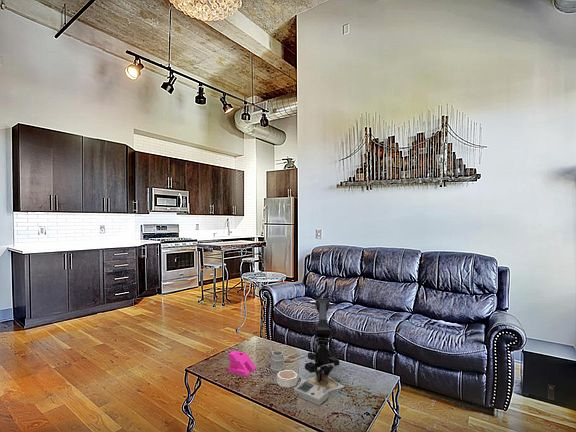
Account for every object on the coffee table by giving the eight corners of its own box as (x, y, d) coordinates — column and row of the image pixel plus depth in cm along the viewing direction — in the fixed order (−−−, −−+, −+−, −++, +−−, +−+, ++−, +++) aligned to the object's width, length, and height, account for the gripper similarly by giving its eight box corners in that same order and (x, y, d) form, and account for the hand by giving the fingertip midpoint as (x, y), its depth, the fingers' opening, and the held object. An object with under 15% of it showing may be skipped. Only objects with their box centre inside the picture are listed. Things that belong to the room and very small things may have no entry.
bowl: (290, 376, 176) (290, 368, 176) (300, 385, 167) (300, 376, 167) (274, 381, 170) (274, 372, 171) (283, 390, 162) (284, 381, 162)
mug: (277, 375, 178) (277, 353, 178) (262, 368, 186) (263, 347, 186) (287, 370, 183) (287, 349, 183) (272, 364, 191) (272, 343, 191)
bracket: (228, 372, 180) (228, 353, 180) (238, 365, 189) (239, 347, 189) (246, 377, 175) (246, 358, 175) (256, 369, 184) (256, 351, 184)
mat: (324, 374, 179) (324, 373, 179) (344, 387, 165) (344, 386, 165) (300, 381, 171) (300, 380, 171) (318, 396, 157) (318, 394, 157)
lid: (324, 376, 176) (324, 367, 176) (338, 385, 166) (338, 376, 166) (305, 381, 170) (306, 372, 170) (319, 391, 160) (319, 382, 160)
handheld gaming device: (319, 407, 148) (318, 399, 148) (293, 395, 157) (293, 388, 157) (329, 397, 155) (329, 390, 155) (304, 387, 164) (304, 379, 164)
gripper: (327, 342, 180) (326, 370, 180) (299, 348, 170) (298, 378, 170) (340, 349, 170) (339, 379, 170) (311, 356, 161) (310, 388, 161)
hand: (322, 380), depth 168 cm, fingers open, 3 cm apart
